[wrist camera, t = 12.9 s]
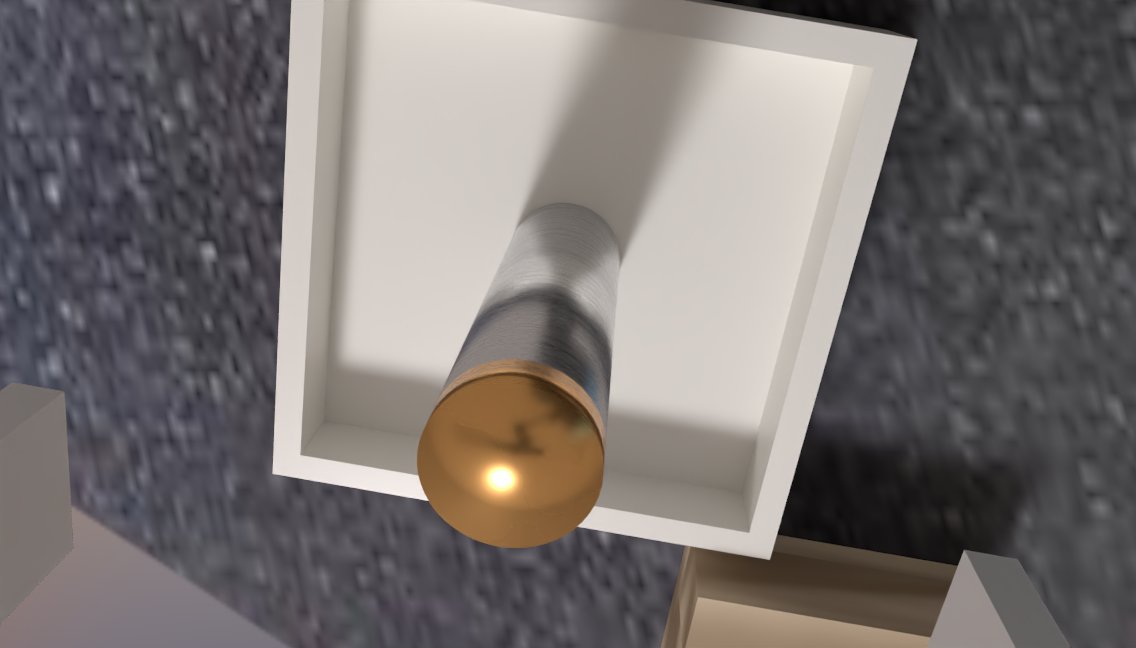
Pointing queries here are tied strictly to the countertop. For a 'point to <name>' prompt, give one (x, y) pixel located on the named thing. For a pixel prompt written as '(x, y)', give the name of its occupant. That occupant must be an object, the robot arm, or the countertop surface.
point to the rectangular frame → (602, 184)
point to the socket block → (805, 598)
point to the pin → (530, 388)
